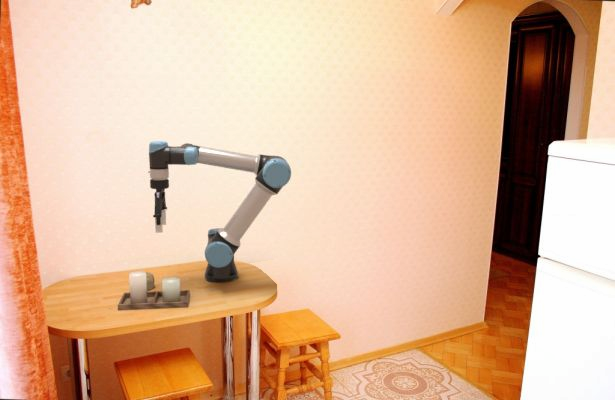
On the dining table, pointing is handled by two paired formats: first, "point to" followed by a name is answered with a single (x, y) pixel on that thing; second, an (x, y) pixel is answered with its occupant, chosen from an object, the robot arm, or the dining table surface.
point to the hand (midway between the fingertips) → (161, 228)
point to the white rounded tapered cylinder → (138, 287)
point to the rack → (154, 301)
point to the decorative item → (149, 281)
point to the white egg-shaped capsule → (171, 289)
